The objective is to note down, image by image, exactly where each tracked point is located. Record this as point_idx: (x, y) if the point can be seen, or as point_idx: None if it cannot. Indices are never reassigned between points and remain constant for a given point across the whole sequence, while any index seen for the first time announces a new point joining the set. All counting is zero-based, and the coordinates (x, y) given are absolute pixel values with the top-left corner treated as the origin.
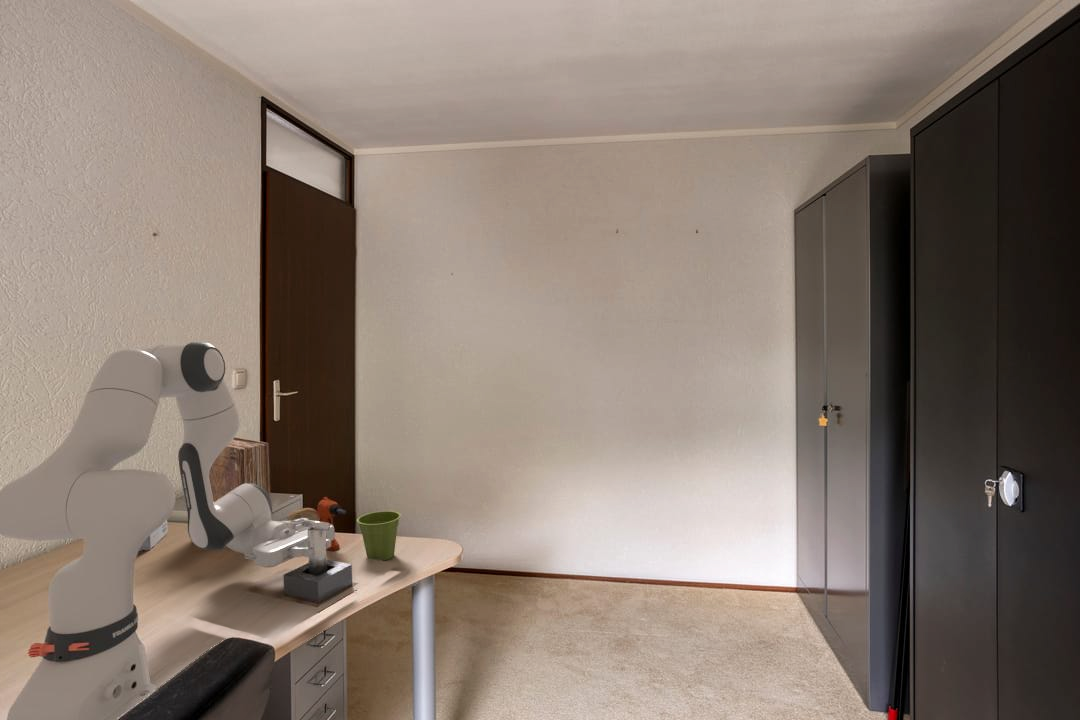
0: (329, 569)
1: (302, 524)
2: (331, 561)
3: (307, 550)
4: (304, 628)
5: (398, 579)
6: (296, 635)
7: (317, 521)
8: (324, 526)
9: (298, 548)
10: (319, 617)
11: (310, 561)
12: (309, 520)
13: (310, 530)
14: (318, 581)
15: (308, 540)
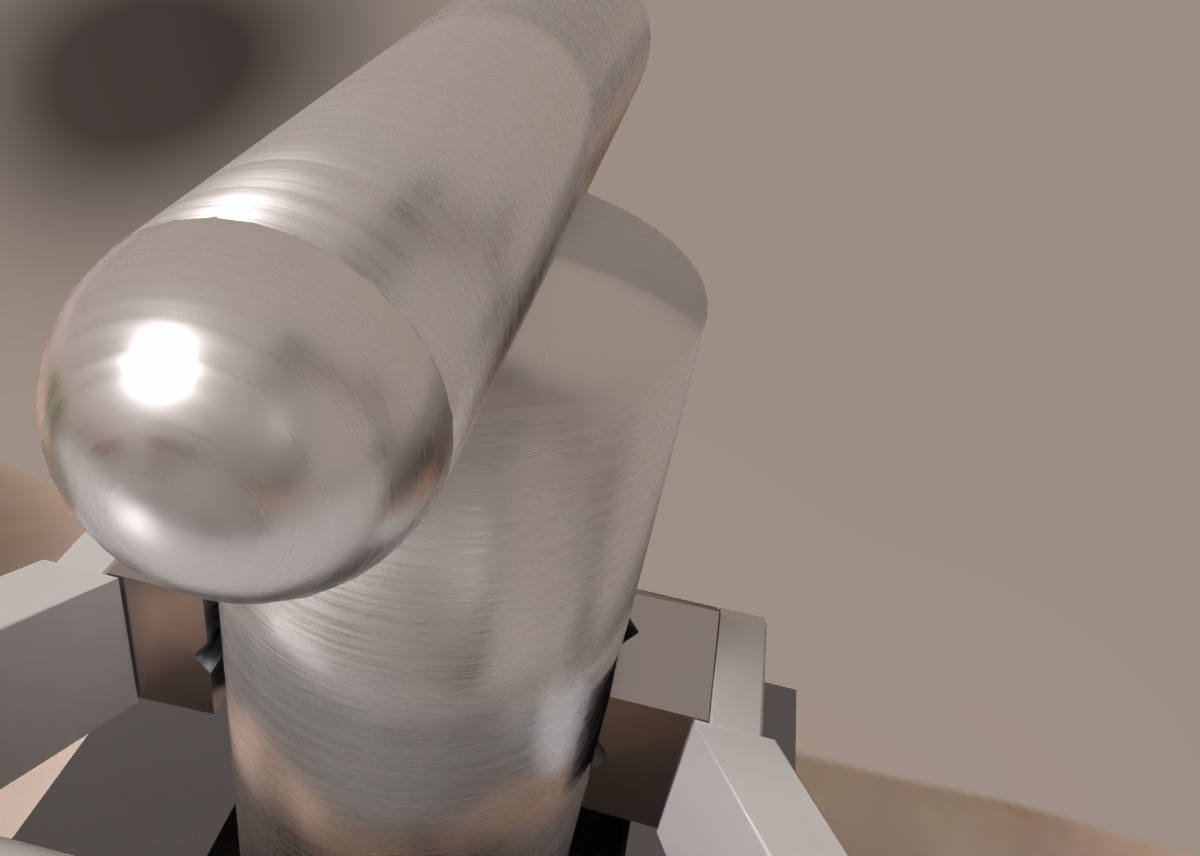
0: (236, 842)
1: (449, 441)
2: (45, 847)
3: (759, 645)
4: (1013, 841)
5: (16, 496)
6: (1120, 844)
7: (484, 16)
8: (645, 26)
9: (811, 834)
10: None
11: (570, 844)
12: (377, 124)
13: (606, 334)
14: (778, 693)
15: (629, 575)
